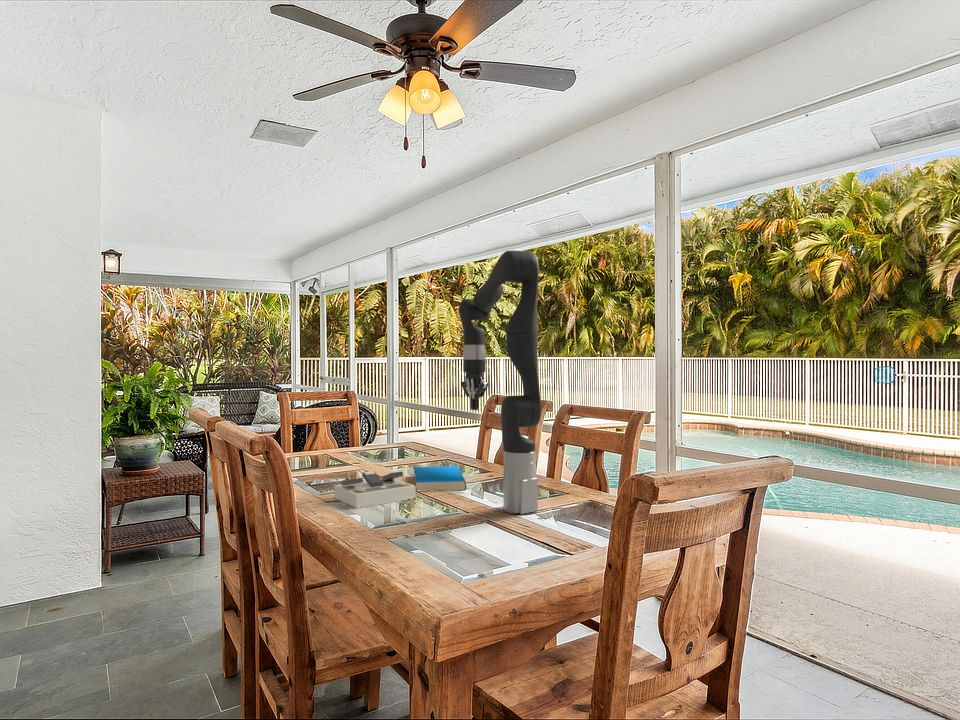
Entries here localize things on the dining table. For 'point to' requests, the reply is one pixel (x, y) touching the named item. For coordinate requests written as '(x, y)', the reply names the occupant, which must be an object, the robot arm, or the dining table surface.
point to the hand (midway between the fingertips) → (474, 409)
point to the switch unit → (374, 493)
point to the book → (439, 478)
